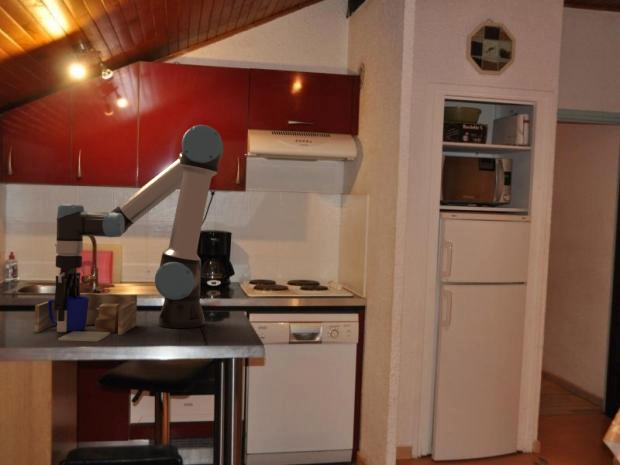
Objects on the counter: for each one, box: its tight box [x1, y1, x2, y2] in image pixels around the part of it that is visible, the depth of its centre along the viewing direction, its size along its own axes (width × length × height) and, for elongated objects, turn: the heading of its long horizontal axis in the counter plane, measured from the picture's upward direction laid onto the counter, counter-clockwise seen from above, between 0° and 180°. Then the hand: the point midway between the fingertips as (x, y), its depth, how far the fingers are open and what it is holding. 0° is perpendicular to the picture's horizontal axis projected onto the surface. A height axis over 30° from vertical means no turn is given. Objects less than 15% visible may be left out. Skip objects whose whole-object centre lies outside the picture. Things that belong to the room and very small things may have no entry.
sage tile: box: [57, 330, 111, 343], centre depth 170 cm, size 11×11×1 cm
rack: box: [34, 292, 138, 335], centre depth 183 cm, size 26×16×10 cm, turn 91°
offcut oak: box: [99, 304, 120, 319], centre depth 182 cm, size 5×6×4 cm
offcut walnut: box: [94, 318, 118, 333], centre depth 182 cm, size 6×7×4 cm
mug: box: [48, 296, 89, 333], centre depth 180 cm, size 8×12×10 cm
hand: (66, 329), depth 179 cm, fingers closed on mug, 7 cm apart
